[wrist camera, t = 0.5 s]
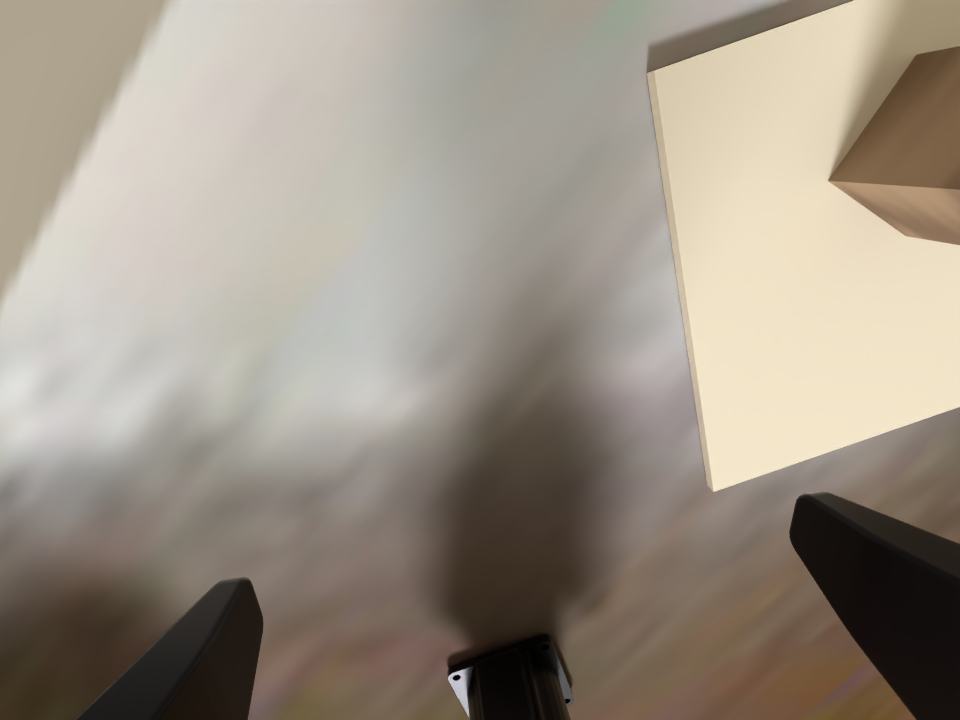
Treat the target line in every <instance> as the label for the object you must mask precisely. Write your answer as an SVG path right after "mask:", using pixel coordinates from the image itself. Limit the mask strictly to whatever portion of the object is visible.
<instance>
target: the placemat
mask: <svg viewBox="0 0 960 720" xmlns="http://www.w3.org/2000/svg"><path fill="white" fill-rule="evenodd" d="M957 46H960V0H853V1H851V2H848V3H845V4H842V5H839V6H836V7H834V8H831V9H828V10H825V11H822V12H819V13H816V14H814V15H811V16H808V17H805V18H802V19H799V20H797V21H794V22H791V23H788V24H785V25H782V26H779V27H777V28H774V29H771V30H768V31H765V32H762V33H760V34H757V35H754V36H751V37H748V38H745V39H742V40H740V41H737V42H734V43H731V44H728V45H725V46H723V47H720V48H717V49H714V50H711V51H708V52H705V53H703V54H700V55H697V56H694V57H691V58H688V59H686V60H683V61H680V62H677V63H674V64H671V65H668V66H666V67H663V68H660V69H657V70H654V71H651V72H649V73H647V79H648V86H649V93H650V99H651V106H652V113H653V120H654V127H655V133H656V140H657V147H658V154H659V161H660V167H661V174H662V181H663V188H664V195H665V201H666V208H667V215H668V222H669V228H670V235H671V242H672V249H673V256H674V262H675V269H676V276H677V283H678V290H679V296H680V303H681V310H682V317H683V324H684V330H685V337H686V344H687V351H688V357H689V364H690V371H691V378H692V385H693V391H694V398H695V405H696V412H697V419H698V425H699V432H700V439H701V446H702V453H703V459H704V466H705V473H706V480H707V485H708V486H709V487H710V488H711V489H712V491H713V492H715V491H717V490H720V489H723V488H726V487H729V486H732V485H735V484H738V483H741V482H744V481H746V480H749V479H752V478H755V477H758V476H761V475H764V474H767V473H770V472H772V471H775V470H778V469H781V468H784V467H787V466H790V465H793V464H796V463H798V462H801V461H804V460H807V459H810V458H813V457H816V456H819V455H822V454H825V453H827V452H830V451H833V450H836V449H839V448H842V447H845V446H848V445H851V444H853V443H856V442H859V441H862V440H865V439H868V438H871V437H874V436H877V435H879V434H882V433H885V432H888V431H891V430H894V429H897V428H900V427H903V426H905V425H908V424H911V423H914V422H917V421H920V420H923V419H926V418H929V417H932V416H934V415H937V414H940V413H943V412H946V411H949V410H952V409H955V408H958V407H960V245H955V244H949V243H943V242H937V241H931V240H925V239H919V238H913V237H907V236H905V235H903V234H902V233H900V232H899V231H898V230H896V229H895V228H893V227H892V226H891V225H889V224H888V223H886V222H885V221H884V220H882V219H881V218H879V217H878V216H877V215H875V214H874V213H872V212H871V211H870V210H868V209H867V208H865V207H864V206H862V205H861V204H860V203H858V202H857V201H855V200H854V199H853V198H851V197H850V196H848V195H847V194H846V193H844V192H843V191H841V190H840V189H839V188H837V187H836V186H834V185H833V184H831V183H830V182H829V181H828V180H829V179H830V177H831V176H832V174H833V173H834V171H835V170H836V169H837V167H838V166H839V164H840V163H841V161H842V160H843V159H844V157H845V156H846V154H847V153H848V151H849V150H850V149H851V147H852V146H853V144H854V143H855V141H856V140H857V139H858V137H859V136H860V134H861V133H862V131H863V130H864V129H865V127H866V126H867V124H868V123H869V121H870V120H871V119H872V117H873V116H874V114H875V113H876V111H877V110H878V109H879V107H880V106H881V104H882V103H883V101H884V100H885V99H886V97H887V96H888V94H889V93H890V91H891V90H892V89H893V87H894V86H895V84H896V83H897V81H898V80H899V78H900V77H901V76H902V74H903V73H904V71H905V70H906V68H907V67H908V66H909V64H910V63H911V61H912V60H913V58H914V57H915V56H916V55H917V54H922V53H927V52H932V51H937V50H942V49H947V48H952V47H957Z"/></svg>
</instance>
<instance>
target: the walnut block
mask: <svg viewBox="0 0 960 720" xmlns="http://www.w3.org/2000/svg"><path fill="white" fill-rule="evenodd" d="M828 181H829V182H830V183H831V184H833V185H834V186H836V187H837V188H839V189H840V190H841V191H843V192H844V193H846V194H847V195H848V196H850V197H851V198H853V199H854V200H855V201H857V202H858V203H860V204H861V205H862V206H864V207H865V208H867V209H868V210H870V211H871V212H872V213H874V214H875V215H877V216H878V217H879V218H881V219H882V220H884V221H885V222H886V223H888V224H889V225H891V226H892V227H893V228H895V229H896V230H898V231H899V232H900V233H902V234H903V235H905V236H907V237H913V238H919V239H925V240H931V241H937V242H943V243H949V244H955V245H960V46H957V47H952V48H947V49H942V50H937V51H932V52H927V53H922V54H917V55H916V56H915V57H914V58H913V60H912V61H911V63H910V64H909V66H908V67H907V68H906V70H905V71H904V73H903V74H902V76H901V77H900V78H899V80H898V81H897V83H896V84H895V86H894V87H893V89H892V90H891V91H890V93H889V94H888V96H887V97H886V99H885V100H884V101H883V103H882V104H881V106H880V107H879V109H878V110H877V111H876V113H875V114H874V116H873V117H872V119H871V120H870V121H869V123H868V124H867V126H866V127H865V129H864V130H863V131H862V133H861V134H860V136H859V137H858V139H857V140H856V141H855V143H854V144H853V146H852V147H851V149H850V150H849V151H848V153H847V154H846V156H845V157H844V159H843V160H842V161H841V163H840V164H839V166H838V167H837V169H836V170H835V171H834V173H833V174H832V176H831V177H830V179H829V180H828Z"/></svg>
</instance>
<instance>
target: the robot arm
mask: <svg viewBox="0 0 960 720" xmlns="http://www.w3.org/2000/svg"><path fill="white" fill-rule="evenodd" d="M789 535H790V540H791V543H792V545H793V547H794V549H795V551H796V552H797V554H798V555H799V557H800V558H801V560H802V561H803V563H804V565H805V566H806V568H807V569H808V571H809V572H810V574H811V575H812V577H813V578H814V580H815V581H816V583H817V584H818V586H819V588H820V589H821V591H822V592H823V594H824V595H825V597H826V598H827V600H828V601H829V603H830V604H831V606H832V608H833V609H834V611H835V612H836V614H837V615H838V617H839V618H840V620H841V621H842V623H843V624H844V626H845V627H846V629H847V630H848V631H849V633H850V634H851V636H852V637H853V638H854V640H855V641H856V642H857V644H858V645H859V646H860V648H861V649H862V650H863V652H864V653H865V654H866V656H867V657H868V658H869V660H870V661H871V662H872V663H873V665H874V666H875V667H876V669H877V670H878V671H879V672H880V674H881V675H882V676H883V678H884V679H885V680H886V681H887V683H888V684H889V685H890V687H891V688H892V689H893V690H894V692H895V693H896V694H897V696H898V697H899V698H900V699H901V701H902V702H903V703H904V705H905V706H906V707H907V708H908V710H909V711H910V712H911V714H912V715H913V716H914V717H915V719H916V720H960V544H959V543H956V542H954V541H951V540H949V539H946V538H943V537H941V536H938V535H936V534H933V533H931V532H928V531H926V530H923V529H921V528H918V527H915V526H913V525H910V524H908V523H905V522H903V521H900V520H898V519H895V518H892V517H890V516H887V515H885V514H882V513H880V512H877V511H875V510H872V509H870V508H867V507H864V506H862V505H859V504H857V503H854V502H852V501H849V500H847V499H844V498H841V497H839V496H836V495H834V494H831V493H828V492H814V493H807V494H802V495H800V496H799V497H798V499H797V500H796V504H795V508H794V513H793V517H792V522H791V526H790V531H789ZM262 633H263V616H262V612H261V609H260V606H259V603H258V600H257V597H256V594H255V591H254V588H253V585H252V583H251V581H250V580H249V579H248V578H246V577H241V578H234V579H227V580H222V581H220V582H218V583H217V584H215V585H214V586H213V587H212V588H211V589H210V590H209V591H208V592H207V593H206V594H205V595H204V596H203V597H202V598H201V599H200V600H199V601H197V602H196V603H195V604H194V605H193V606H192V607H191V608H190V609H189V610H188V611H187V612H186V613H185V614H184V615H183V616H182V617H181V618H180V619H179V620H178V621H177V622H176V623H175V624H174V625H173V626H172V627H170V628H169V629H168V630H167V631H166V632H165V633H164V634H163V635H162V636H161V637H160V638H159V639H158V640H157V641H156V642H155V643H154V644H153V645H152V646H151V647H150V648H149V649H148V650H147V651H146V652H145V653H143V654H142V655H141V656H140V657H139V658H138V659H137V660H136V661H135V662H134V663H133V664H132V665H131V666H130V667H129V668H128V669H127V670H126V671H125V672H124V673H123V674H122V675H121V676H120V677H119V678H118V679H116V680H115V681H114V682H113V683H112V684H111V685H110V686H109V687H108V688H107V689H106V690H105V691H104V692H103V693H102V694H101V695H100V696H99V697H98V698H97V699H96V700H95V701H94V702H93V703H92V704H91V705H89V706H88V707H87V708H86V709H85V710H84V711H83V712H82V713H81V714H80V715H79V716H78V717H77V718H76V719H75V720H248V715H249V709H250V703H251V697H252V691H253V686H254V680H255V674H256V668H257V662H258V657H259V651H260V645H261V639H262ZM448 680H449V682H450V684H451V686H452V688H453V689H454V691H455V693H456V695H457V697H458V698H459V700H460V702H461V704H462V706H463V707H464V709H465V711H466V713H467V715H468V716H469V718H470V720H570V716H569V713H568V709H567V706H569V705H571V704H572V703H573V702H574V697H573V693H572V690H571V688H570V685H569V683H568V680H567V677H566V675H565V672H564V670H563V667H562V665H561V662H560V659H559V657H558V654H557V652H556V649H555V646H554V644H553V641H552V639H551V637H550V636H548V635H543V636H539V637H536V638H533V639H531V640H528V641H525V642H522V643H519V644H516V645H513V646H510V647H507V648H504V649H501V650H499V651H496V652H493V653H490V654H487V655H484V656H481V657H478V658H475V659H472V660H470V661H467V662H464V663H461V664H458V665H455V666H453V667H451V668H450V669H449V670H448Z"/></svg>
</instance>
